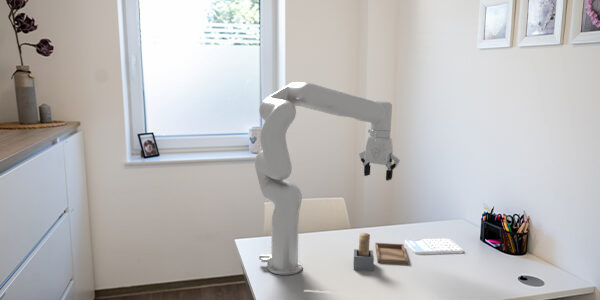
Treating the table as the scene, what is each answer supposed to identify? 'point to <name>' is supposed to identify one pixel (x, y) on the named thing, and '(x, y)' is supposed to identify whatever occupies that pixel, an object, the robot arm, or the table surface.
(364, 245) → the dowel
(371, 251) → the pen cup
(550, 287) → the table surface
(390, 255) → the tray
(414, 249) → the calculator
